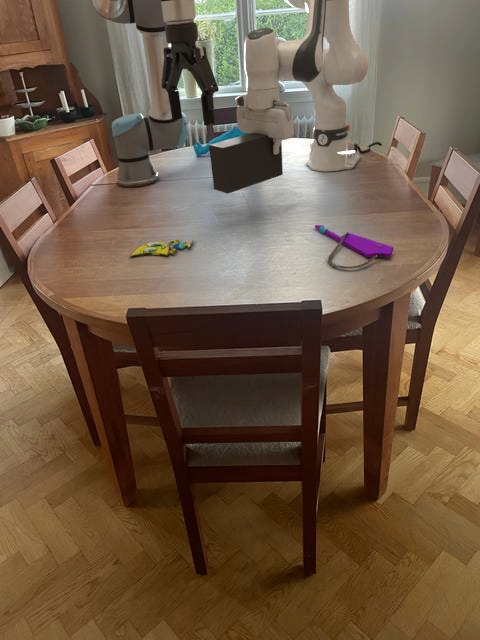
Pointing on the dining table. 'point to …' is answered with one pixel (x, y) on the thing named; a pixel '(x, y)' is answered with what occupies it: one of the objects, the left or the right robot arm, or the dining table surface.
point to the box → (244, 162)
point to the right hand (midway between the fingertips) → (266, 151)
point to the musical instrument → (358, 246)
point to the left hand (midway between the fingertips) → (192, 121)
